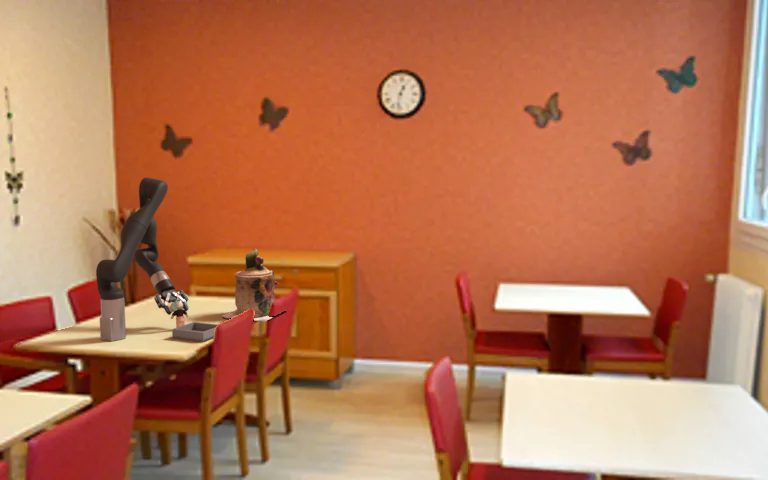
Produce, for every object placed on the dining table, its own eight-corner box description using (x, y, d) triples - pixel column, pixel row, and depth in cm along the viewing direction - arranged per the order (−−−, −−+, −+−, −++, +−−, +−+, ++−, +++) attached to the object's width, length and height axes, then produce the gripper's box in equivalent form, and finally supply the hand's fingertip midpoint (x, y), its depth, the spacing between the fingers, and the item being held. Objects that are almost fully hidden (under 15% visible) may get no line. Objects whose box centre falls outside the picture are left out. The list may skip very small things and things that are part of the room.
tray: (203, 342, 276) (203, 332, 276) (172, 338, 283) (172, 329, 282) (224, 334, 289) (224, 325, 289) (194, 330, 295) (193, 321, 295)
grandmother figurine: (186, 327, 301) (185, 299, 300) (190, 329, 298) (189, 301, 297) (169, 330, 296) (168, 302, 295) (173, 332, 293) (172, 303, 292)
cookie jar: (220, 319, 318) (218, 251, 314) (245, 308, 341) (244, 245, 338) (267, 322, 311) (265, 253, 307) (290, 311, 334) (289, 247, 330)
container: (180, 290, 358) (174, 298, 334) (191, 294, 359) (185, 302, 335) (176, 300, 358) (169, 309, 334) (187, 304, 360) (181, 313, 335)
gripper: (151, 280, 295) (168, 309, 289) (179, 276, 306) (195, 304, 300) (145, 291, 299) (161, 320, 293) (172, 286, 310) (189, 314, 304)
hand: (178, 311), depth 297 cm, fingers open, 8 cm apart
